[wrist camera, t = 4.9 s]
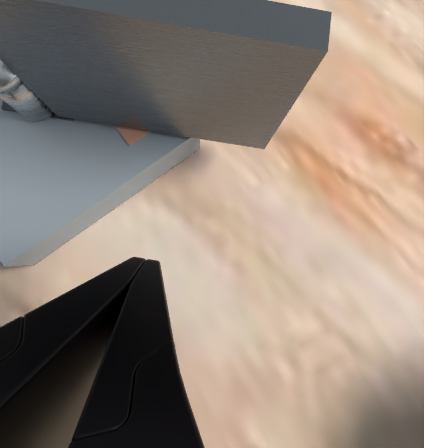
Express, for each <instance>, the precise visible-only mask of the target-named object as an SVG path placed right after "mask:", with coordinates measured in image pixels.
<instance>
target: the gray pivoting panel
mask: <svg viewBox="0 0 424 448" xmlns="http://www.w3.org/2000/svg"><path fill="white" fill-rule="evenodd" d="M330 22H331V12H328V11H323V10H317V9H312V8H306V7H301V6H295V5H289V4H284V3H278V2H273V1H267V0H0V98H1V99H2V100H3V101H4V102H6V103H7V104H8V105H9V106H11V107H12V108H13V109H15V110H16V111H17V112H18V113H20V114H21V115H22V116H23V117H25V118H26V119H28V120H31V121H42V120H45V119H47V118H49V117H50V116H51V115H52V114H53V113H55V114H56V115H57V116H59V117H65V118H71V119H77V120H84V121H90V122H96V123H103V124H109V125H115V126H122V127H128V128H134V129H141V130H147V131H153V132H160V133H166V134H172V135H179V136H185V137H191V138H198V139H204V140H210V141H217V142H223V143H229V144H236V145H242V146H248V147H255V148H261V149H265V147H266V146H267V144H268V143H269V141H270V140H271V138H272V136H273V135H274V133H275V132H276V130H277V129H278V127H279V126H280V124H281V123H282V121H283V119H284V118H285V116H286V115H287V113H288V112H289V110H290V109H291V107H292V106H293V104H294V102H295V101H296V99H297V98H298V96H299V95H300V93H301V92H302V90H303V89H304V87H305V86H306V84H307V82H308V81H309V79H310V78H311V76H312V75H313V73H314V72H315V70H316V69H317V67H318V65H319V64H320V62H321V61H322V59H323V58H324V56H325V55H326V53H327V52H328V43H329V33H330Z"/></svg>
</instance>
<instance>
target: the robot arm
mask: <svg viewBox="0 0 424 448" xmlns="http://www.w3.org/2000/svg"><path fill="white" fill-rule="evenodd" d="M0 448H204V445H203V442H202V439H201V436H200V433H199V430H198V427H197V424H196V421H195V418H194V415H193V412H192V409H191V406H190V403H189V400H188V397H187V394H186V390H185V387H184V384H183V380H182V377H181V373H180V369H179V364H178V360H177V355H176V350H175V344H174V341H173V334H172V329H171V323H170V317H169V311H168V306H167V300H166V294H165V289H164V283H163V277H162V271H161V266H160V262H159V261H156V260H150V259H148V260H145V259H144V258H138V257H132V258H130V259H128V260H126V261H124V262H122V263H121V264H119V265H117V266H115V267H113V268H111V269H109V270H108V271H106V272H104V273H102V274H100V275H98V276H96V277H94V278H93V279H91V280H89V281H87V282H85V283H83V284H81V285H79V286H78V287H76V288H74V289H72V290H70V291H68V292H66V293H65V294H63V295H61V296H59V297H57V298H55V299H53V300H51V301H50V302H48V303H46V304H44V305H42V306H40V307H38V308H37V309H35V310H33V311H31V312H29V313H27V314H25V315H24V318H23V317H19V318H17V319H15V320H13V321H11V322H9V323H7V324H6V325H4V326H2V327H0Z"/></svg>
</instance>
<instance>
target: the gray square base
mask: <svg viewBox="0 0 424 448" xmlns="http://www.w3.org/2000/svg"><path fill="white" fill-rule="evenodd" d="M199 147H200V139H198V138H191V137H185V136H179V135H172V134H166V133H160V132H153V131H147V130H141V129H134V128H128V127H122V126H115V125H109V124H103V123H96V122H90V121H84V120H77V119H71V118H65V117H59V116H57V115H56V114H55V113H53V114H52V115H51V116H50V117H49V118H47V119H45V120H42V121H31V120H28V119H26V118H25V117H23V116H22V115H21V114H20V113H18V112H17V111H16V110H15V109H13V108H12V107H11V106H9V105H8V104H7V103H6V102H4V101H3V100H2V99H1V98H0V262H1V263H2V265H3V266H4V267H12V266H26V265H35V264H36V263H38V262H39V261H41V260H42V259H43V258H45V257H46V256H48V255H49V254H51V253H52V252H53V251H55V250H56V249H58V248H59V247H60V246H62V245H63V244H65V243H66V242H68V241H69V240H70V239H72V238H73V237H75V236H76V235H78V234H79V233H80V232H82V231H83V230H85V229H86V228H88V227H89V226H90V225H92V224H93V223H95V222H96V221H97V220H99V219H100V218H102V217H103V216H105V215H106V214H107V213H109V212H110V211H112V210H113V209H115V208H116V207H117V206H119V205H120V204H122V203H123V202H125V201H126V200H127V199H129V198H130V197H132V196H133V195H135V194H136V193H137V192H139V191H140V190H142V189H143V188H144V187H146V186H147V185H149V184H150V183H152V182H153V181H154V180H156V179H157V178H159V177H160V176H162V175H163V174H164V173H166V172H167V171H169V170H170V169H172V168H173V167H174V166H176V165H177V164H179V163H180V162H181V161H183V160H184V159H186V158H187V157H189V156H190V155H191V154H193V153H194V152H196V151H197V150H199Z"/></svg>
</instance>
